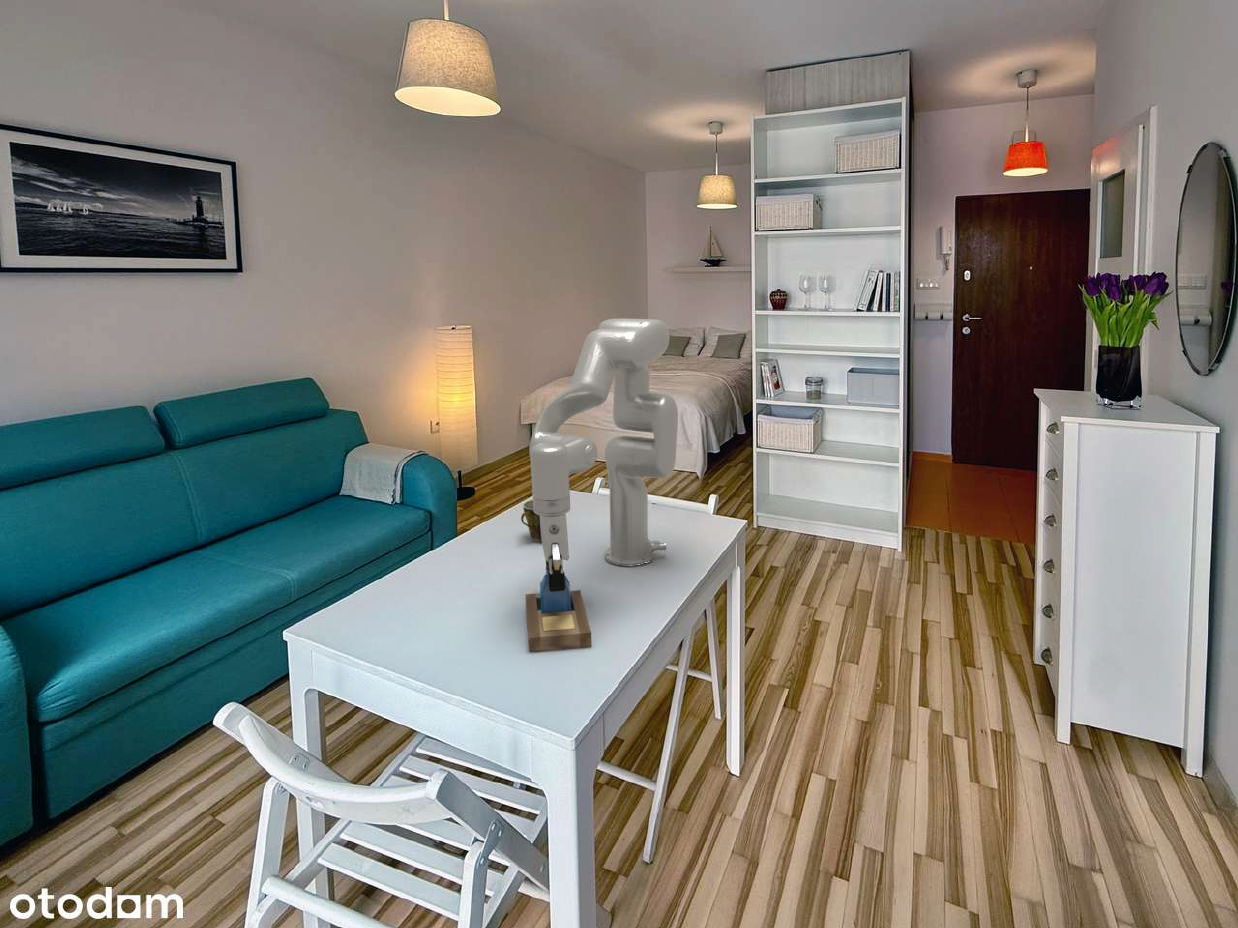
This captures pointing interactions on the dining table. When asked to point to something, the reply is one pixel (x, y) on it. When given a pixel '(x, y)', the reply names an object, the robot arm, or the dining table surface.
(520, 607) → the dining table surface
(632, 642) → the dining table surface
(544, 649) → the frame
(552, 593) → the perfume bottle
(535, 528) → the ceramic cup
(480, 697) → the dining table surface
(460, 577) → the dining table surface
